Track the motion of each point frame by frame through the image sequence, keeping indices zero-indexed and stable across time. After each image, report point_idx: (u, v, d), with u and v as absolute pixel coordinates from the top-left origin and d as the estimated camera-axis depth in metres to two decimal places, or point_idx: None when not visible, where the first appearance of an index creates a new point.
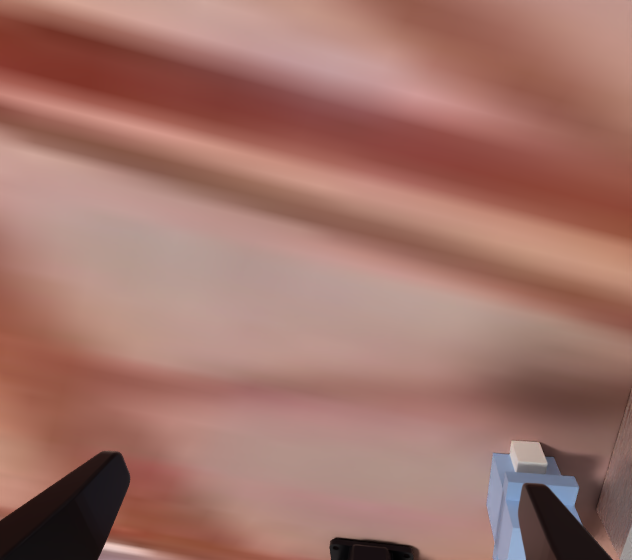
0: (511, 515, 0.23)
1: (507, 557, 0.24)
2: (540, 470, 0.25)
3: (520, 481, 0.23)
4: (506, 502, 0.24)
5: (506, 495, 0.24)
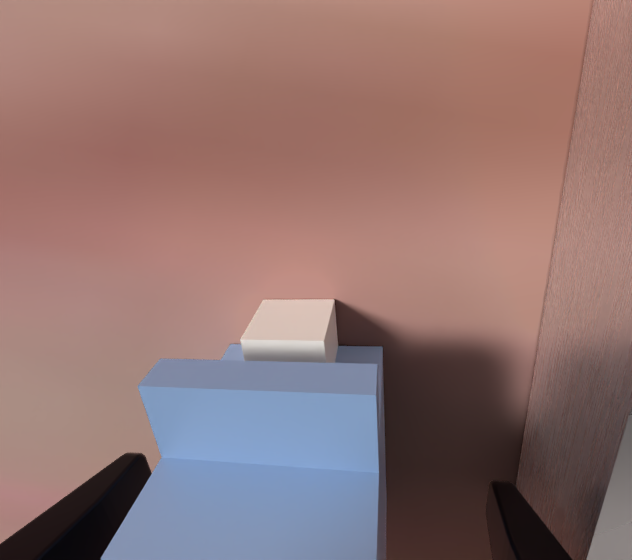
0: (135, 509, 0.06)
1: None
2: None
3: (179, 383, 0.06)
4: (159, 465, 0.07)
5: (158, 440, 0.07)
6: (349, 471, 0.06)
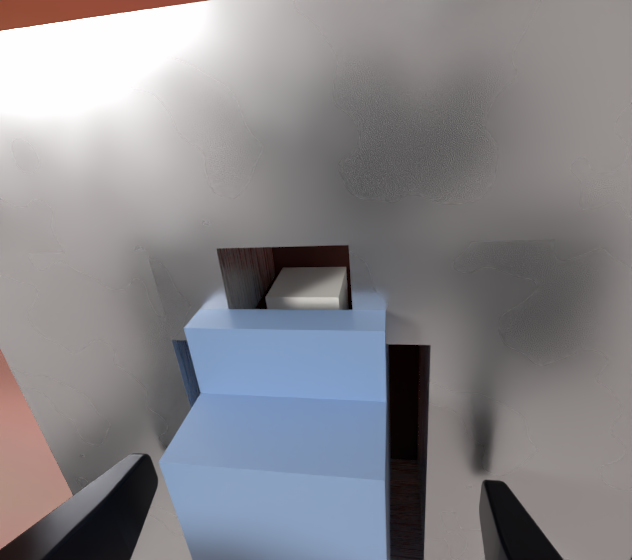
0: (183, 429, 0.07)
1: None
2: None
3: (219, 325, 0.07)
4: (199, 398, 0.08)
5: (199, 378, 0.08)
6: (361, 400, 0.07)
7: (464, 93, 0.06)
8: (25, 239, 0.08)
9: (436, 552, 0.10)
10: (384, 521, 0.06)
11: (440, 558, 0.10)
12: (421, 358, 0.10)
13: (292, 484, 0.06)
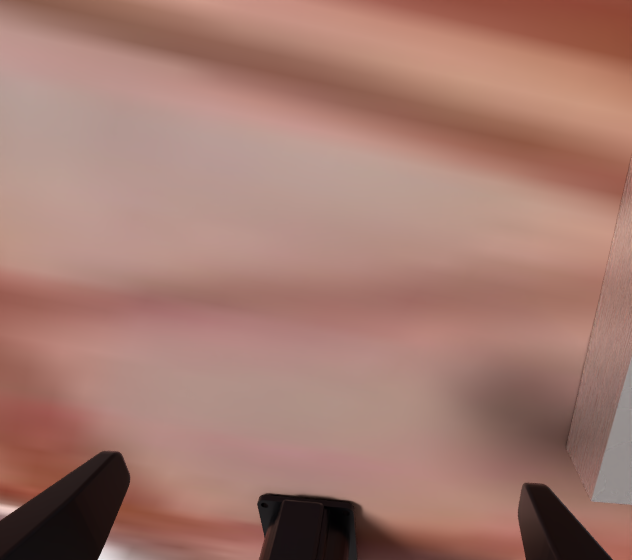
0: None
1: None
2: None
3: None
4: None
5: None
6: None
7: None
8: None
9: None
10: None
11: None
12: None
13: None
